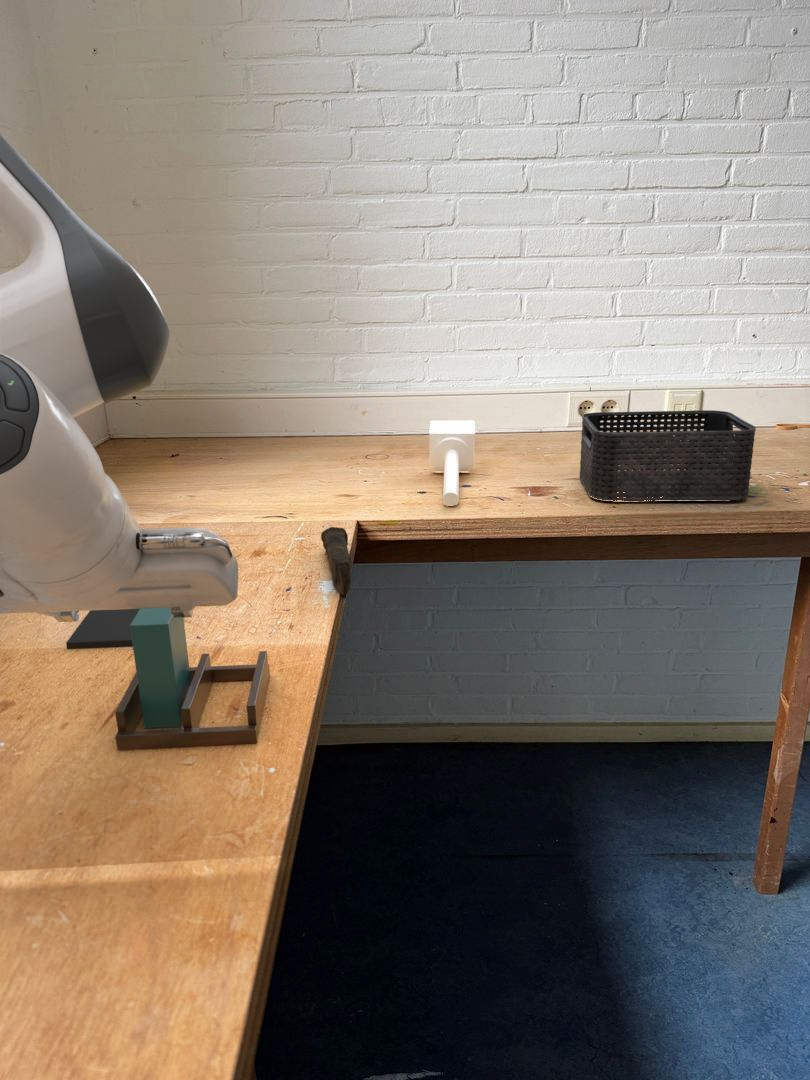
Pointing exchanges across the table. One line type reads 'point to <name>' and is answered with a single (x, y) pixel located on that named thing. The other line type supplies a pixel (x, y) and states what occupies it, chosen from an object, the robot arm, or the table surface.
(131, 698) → the slot rack
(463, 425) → the paper towel holder
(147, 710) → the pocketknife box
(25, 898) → the table surface
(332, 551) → the hand tool
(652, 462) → the storage bin
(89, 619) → the rubber mat
